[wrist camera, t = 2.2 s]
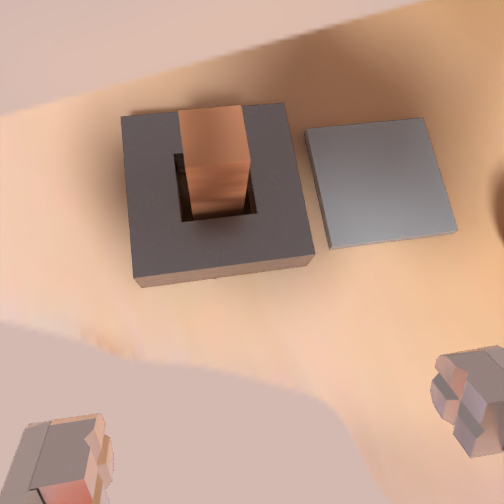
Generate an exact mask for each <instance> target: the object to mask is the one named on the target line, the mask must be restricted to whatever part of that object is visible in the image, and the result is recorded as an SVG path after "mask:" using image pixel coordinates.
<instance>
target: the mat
mask: <svg viewBox="0 0 504 504" xmlns="http://www.w3.org/2000/svg"><path fill="white" fill-rule="evenodd" d="M304 135H305V140H306V144H307V149H308V153H309V158H310V163H311V167H312V172H313V176H314V181H315V186H316V190H317V195H318V199H319V204H320V208H321V213H322V218H323V222H324V227H325V231H326V236H327V241H328V245H329V250H331V249H339V248H346V247H354V246H362V245H369V244H377V243H385V242H392V241H400V240H408V239H415V238H423V237H431V236H438V235H446V234H453V233H454V232H456V231H458V228H457V225H456V221H455V218H454V215H453V212H452V209H451V206H450V202H449V199H448V196H447V193H446V190H445V186H444V183H443V180H442V177H441V174H440V170H439V167H438V164H437V161H436V158H435V154H434V151H433V148H432V145H431V142H430V138H429V135H428V132H427V129H426V126H425V122H424V119H423V118H414V119H404V120H393V121H382V122H372V123H361V124H350V125H340V126H329V127H318V128H308V129H306V131H305V134H304Z"/></svg>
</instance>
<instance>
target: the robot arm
mask: <svg viewBox="0 0 504 504" xmlns="http://www.w3.org/2000/svg"><path fill="white" fill-rule="evenodd" d="M435 368H436V369H437V371H438V372H439V373H438V374H437V376H436V377H435V378H434V379H433V380H432V383H431V390H430V391H431V396H432V402H433V404H434V406H435V408H436V410H437V412H438V413H439V415H440V416H441V418H442V419H444V420H446V421H447V422H449V423H451V424H452V425H453V435H454V436H455V437H456V439H457V440H458V442H459V443H460V444H461V446H462V447H463V449H464V450H465V451H466V453H467V454H468V456H469V457H470V458H474V457H480V456H486V455H492V454H497V453H503V452H504V348H502V347H500V346H498V345H495V346H490V347H484V348H478V349H472V350H466V351H461V352H455V353H450V354H444V355H440V356H439V357H438V359H437V360H436V364H435ZM104 430H105V421H104V419H103V416H102V414H100V413H97V414H91V415H84V416H77V417H71V418H63V419H56V420H51V421H45V422H38V423H31V424H29V425H28V426H27V427H26V428H25V430H24V431H23V434H22V436H21V439H20V442H19V444H18V447H17V450H16V453H15V455H14V458H13V461H12V463H11V466H10V469H9V471H8V474H7V477H6V479H5V482H4V485H3V487H2V490H1V493H0V504H109V498H108V495H107V492H106V489H107V487H108V486H109V485H110V483H111V482H112V478H113V470H114V469H113V468H114V459H113V458H114V457H113V448H112V443H111V440H110V437H108V436H107V435H105V434H104Z"/></svg>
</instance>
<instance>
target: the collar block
mask: <svg viewBox="0 0 504 504" xmlns="http://www.w3.org/2000/svg"><path fill="white" fill-rule="evenodd" d="M241 107H242V113H243V119H244V125H245V131H246V136H247V142H248V148H249V154H250V159H251V162H250V169H249V175H248V182H247V190H248V196H249V202H250V208H251V214H248V215H240V216H231V217H223V218H214V219H206V220H197V221H189V222H183V218H182V209H181V201H180V192H179V184H178V175H177V174H181V173H186V170H185V163H184V155H183V147H182V139H181V130H180V122H179V114H178V112H169V113H158V114H146V115H134V116H123V117H121V126H122V139H123V152H124V164H125V177H126V190H127V203H128V216H129V228H130V241H131V254H132V267H133V278H134V279H135V281H136V282H137V283H138V284H139V285H140V287H141V288H145V287H152V286H160V285H167V284H175V283H182V282H190V281H197V280H204V279H212V278H219V277H227V276H234V275H242V274H249V273H257V272H264V271H272V270H279V269H286V268H294V267H301V266H307V264H308V263H309V262H310V260H311V259H312V258H313V257H314V255H315V250H314V245H313V241H312V236H311V231H310V226H309V221H308V217H307V212H306V207H305V202H304V197H303V192H302V188H301V183H300V178H299V173H298V168H297V163H296V159H295V154H294V149H293V144H292V139H291V135H290V130H289V125H288V120H287V115H286V110H285V106H284V103H275V104H263V105H251V106H241Z"/></svg>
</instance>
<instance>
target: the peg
mask: <svg viewBox="0 0 504 504" xmlns="http://www.w3.org/2000/svg"><path fill="white" fill-rule="evenodd" d="M178 114H179V122H180V130H181V139H182V147H183V155H184V163H185V170H186V176H187V183H188V189H189V195H190V202H191V208H192V214H193V220H194V221H197V220H206V219H214V218H223V217H231V216H240V215H243V209H244V202H245V196H246V189H247V182H248V175H249V169H250V162H251V159H250V154H249V148H248V142H247V136H246V131H245V125H244V119H243V113H242V107H241V105H234V106H223V107H211V108H199V109H187V110H178Z"/></svg>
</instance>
